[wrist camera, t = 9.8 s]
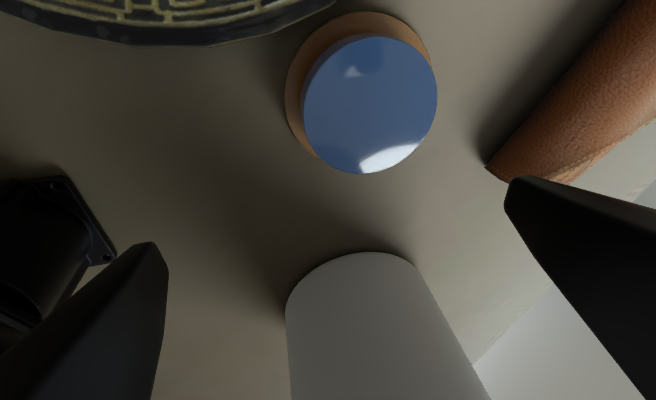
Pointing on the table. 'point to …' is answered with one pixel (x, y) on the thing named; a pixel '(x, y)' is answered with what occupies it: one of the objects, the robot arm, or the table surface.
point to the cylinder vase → (373, 335)
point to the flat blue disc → (368, 102)
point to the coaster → (325, 39)
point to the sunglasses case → (589, 103)
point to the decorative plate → (164, 19)
